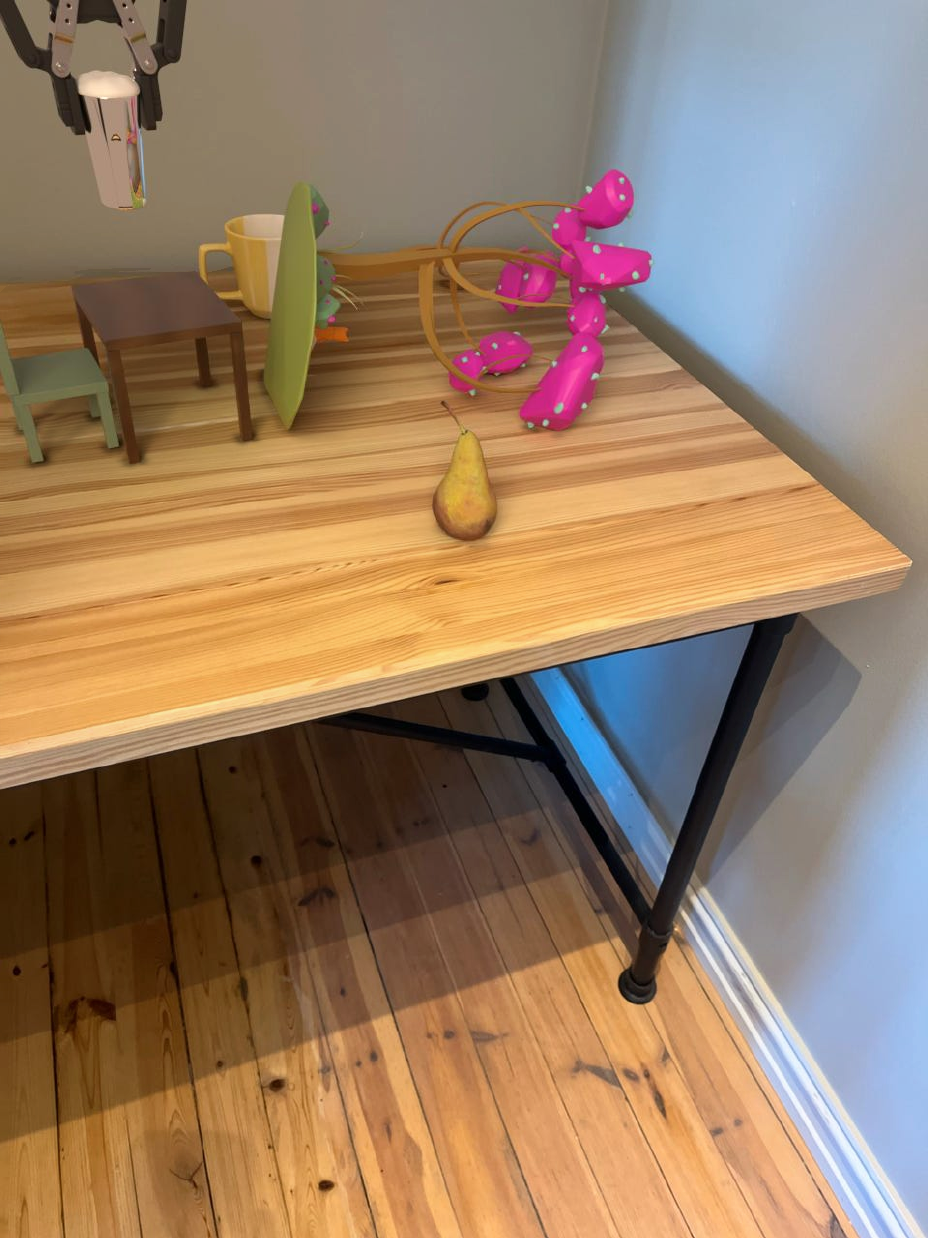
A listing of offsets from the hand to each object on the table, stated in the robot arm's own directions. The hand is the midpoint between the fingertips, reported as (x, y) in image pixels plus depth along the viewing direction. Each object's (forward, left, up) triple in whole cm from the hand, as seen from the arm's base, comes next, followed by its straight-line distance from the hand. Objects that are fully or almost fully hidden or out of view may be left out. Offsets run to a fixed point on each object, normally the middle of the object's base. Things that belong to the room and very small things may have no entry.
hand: (113, 129), depth 69 cm
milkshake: (0, 0, -6) cm, 6 cm away
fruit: (+20, -23, -28) cm, 41 cm away
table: (+3, +7, -28) cm, 29 cm away
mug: (+21, +31, -28) cm, 47 cm away
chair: (-8, +7, -28) cm, 30 cm away
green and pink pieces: (+31, +1, -28) cm, 42 cm away
